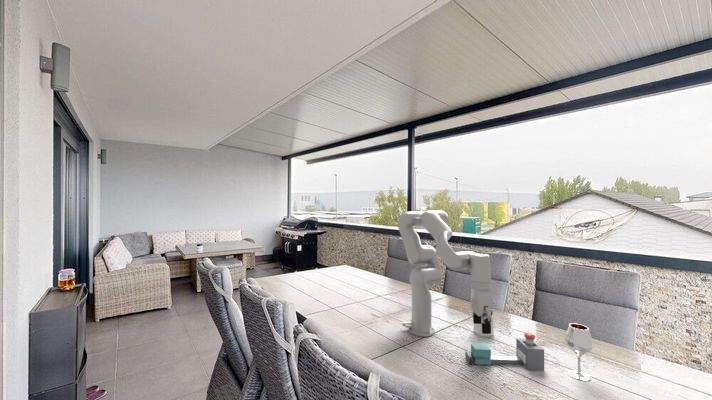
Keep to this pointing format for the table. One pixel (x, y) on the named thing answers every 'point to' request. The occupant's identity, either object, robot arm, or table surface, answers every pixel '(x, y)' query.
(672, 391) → the table surface
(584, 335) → the wineglass
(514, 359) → the rail
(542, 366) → the housing
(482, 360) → the carriage
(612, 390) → the table surface
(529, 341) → the plunger
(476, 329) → the jar
